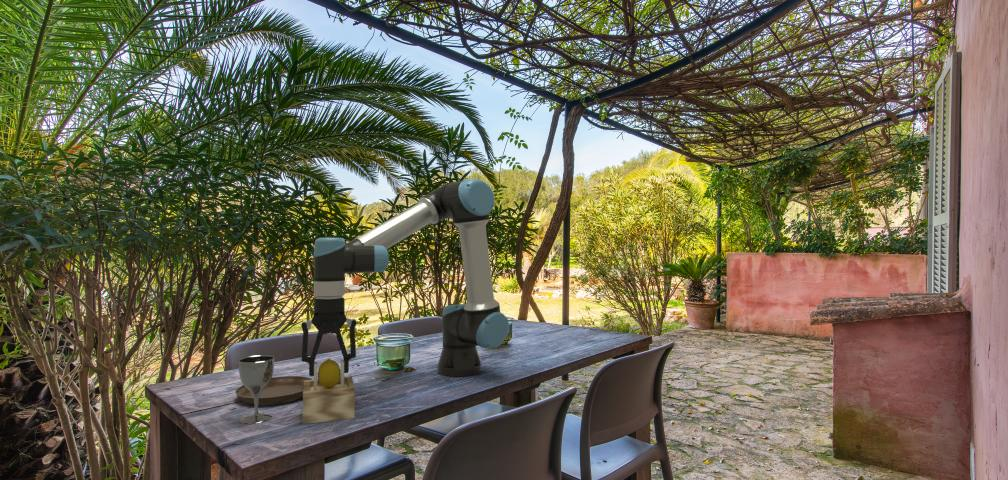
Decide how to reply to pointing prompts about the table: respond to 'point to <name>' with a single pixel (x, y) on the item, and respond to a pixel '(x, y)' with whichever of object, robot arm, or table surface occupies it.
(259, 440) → the table surface
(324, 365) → the lemon
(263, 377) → the wine glass
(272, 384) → the plant saucer
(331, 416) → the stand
